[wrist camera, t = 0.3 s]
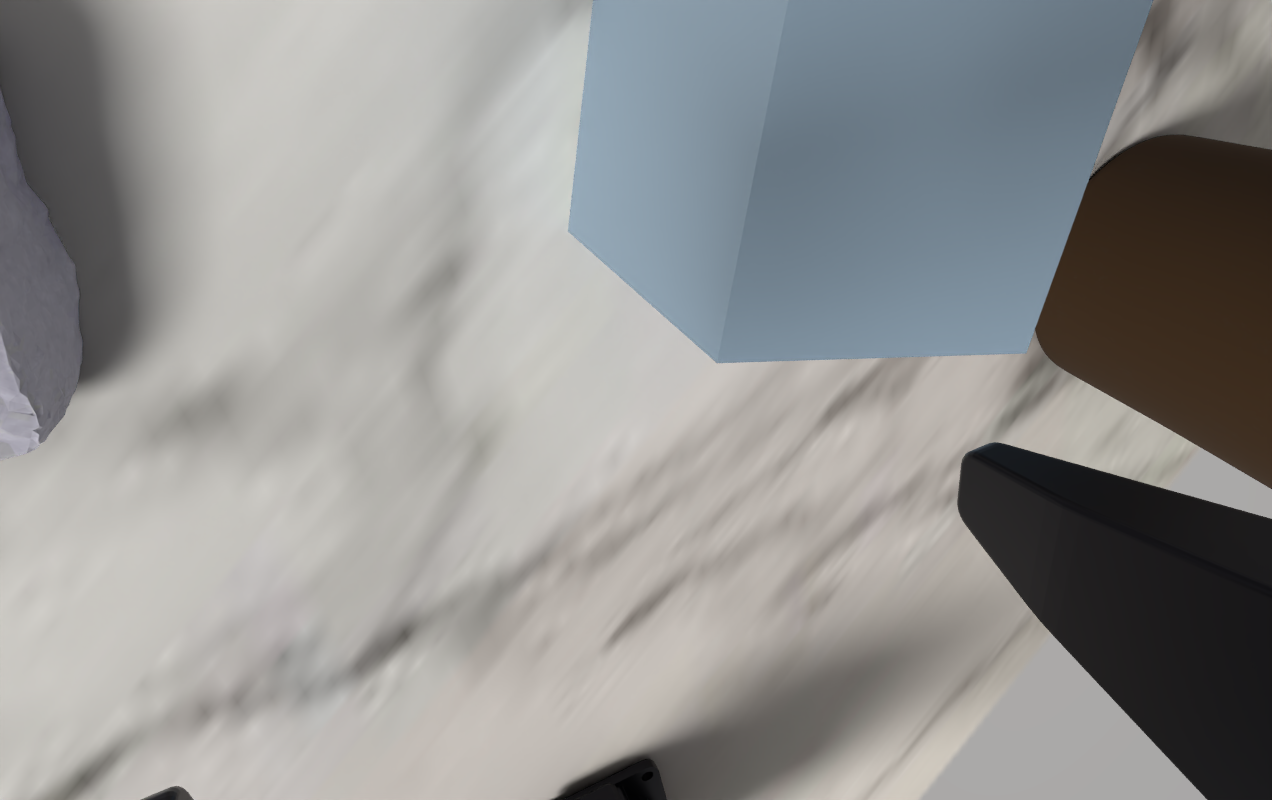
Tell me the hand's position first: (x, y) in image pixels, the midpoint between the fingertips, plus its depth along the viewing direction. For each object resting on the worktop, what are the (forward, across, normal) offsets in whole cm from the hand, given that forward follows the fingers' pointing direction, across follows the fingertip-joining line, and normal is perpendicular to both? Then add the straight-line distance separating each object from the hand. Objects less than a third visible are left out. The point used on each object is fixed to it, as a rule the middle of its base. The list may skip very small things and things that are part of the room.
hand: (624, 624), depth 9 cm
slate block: (+15, -10, -1) cm, 18 cm away
